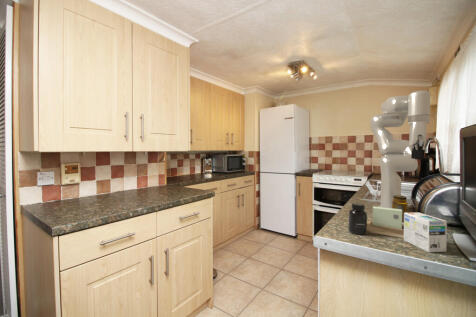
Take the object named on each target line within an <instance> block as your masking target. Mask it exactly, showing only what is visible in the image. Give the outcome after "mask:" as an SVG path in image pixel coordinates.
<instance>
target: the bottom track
mask: <svg viewBox="0 0 476 317" xmlns="http://www.w3.org/2000/svg"><path fill="white" fill-rule="evenodd" d="M367 233H370V234H375V235H376V234H379V235H383V236H390V237H395V238H396V237H397V238H401V239H404V224H402V229H397V228H391V227H384V226H377V225H373V220H370V219H369V220H368V219H367Z"/></svg>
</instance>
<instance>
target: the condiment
mask: <svg viewBox="0 0 476 317" xmlns="http://www.w3.org/2000/svg"><path fill="white" fill-rule="evenodd" d="M392 209H401V210H402V225H404V213H408V201H407V196H404V195H401V196H399V195H395V196H393V201H392Z"/></svg>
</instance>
